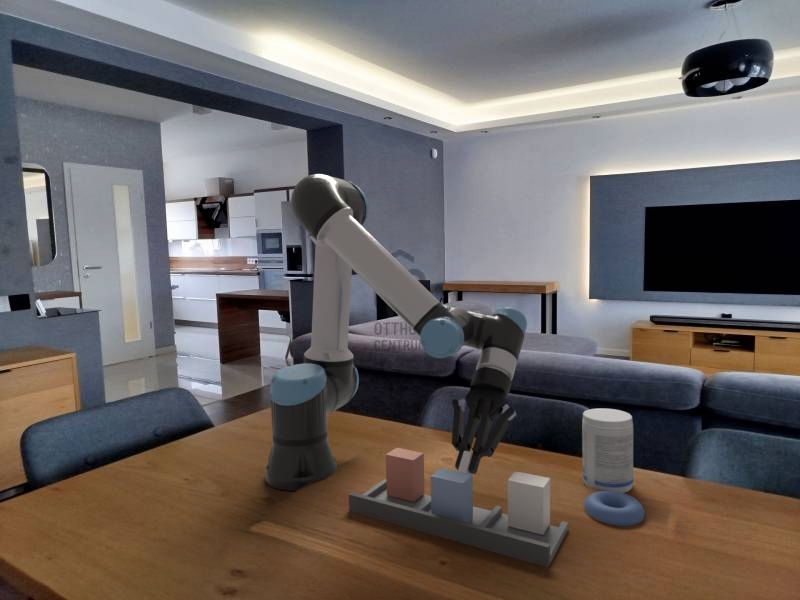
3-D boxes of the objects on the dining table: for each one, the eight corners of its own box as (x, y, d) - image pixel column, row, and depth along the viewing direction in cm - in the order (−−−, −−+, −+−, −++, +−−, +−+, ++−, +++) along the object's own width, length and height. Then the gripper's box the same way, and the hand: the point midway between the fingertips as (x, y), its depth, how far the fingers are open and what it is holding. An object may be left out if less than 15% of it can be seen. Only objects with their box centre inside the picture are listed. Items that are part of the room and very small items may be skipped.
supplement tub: (642, 487, 107) (644, 416, 106) (613, 500, 102) (614, 425, 100) (600, 471, 115) (601, 404, 114) (571, 482, 110) (572, 412, 108)
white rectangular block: (507, 525, 90) (507, 480, 89) (515, 515, 93) (515, 471, 93) (543, 535, 87) (543, 487, 86) (550, 524, 90) (550, 478, 90)
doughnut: (632, 540, 87) (632, 512, 88) (574, 523, 94) (574, 497, 94) (652, 523, 95) (652, 497, 95) (597, 508, 102) (597, 484, 102)
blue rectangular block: (431, 521, 92) (430, 476, 91) (441, 511, 95) (441, 467, 95) (463, 529, 89) (463, 483, 88) (472, 519, 92) (472, 474, 92)
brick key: (386, 495, 102) (385, 454, 101) (397, 486, 106) (396, 447, 105) (414, 502, 99) (413, 460, 98) (424, 493, 103) (423, 453, 102)
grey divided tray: (349, 518, 97) (348, 494, 97) (384, 491, 107) (384, 470, 107) (548, 576, 79) (548, 547, 78) (568, 538, 89) (568, 512, 88)
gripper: (529, 389, 107) (500, 505, 94) (468, 382, 113) (434, 489, 100) (521, 368, 101) (489, 487, 89) (458, 362, 108) (419, 472, 95)
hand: (459, 488), depth 95 cm, fingers closed
